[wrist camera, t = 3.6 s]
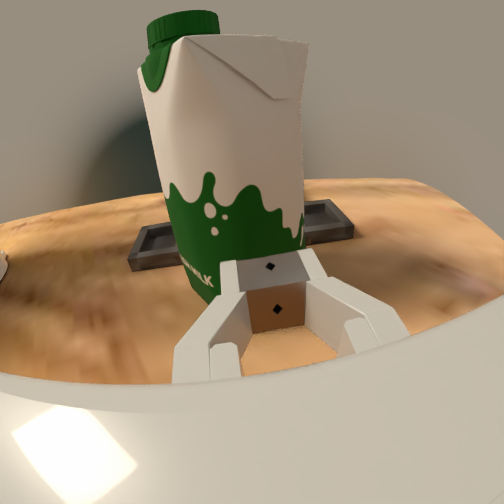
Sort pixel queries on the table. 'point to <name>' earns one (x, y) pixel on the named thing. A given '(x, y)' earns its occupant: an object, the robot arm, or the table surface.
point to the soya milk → (225, 141)
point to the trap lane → (167, 254)
